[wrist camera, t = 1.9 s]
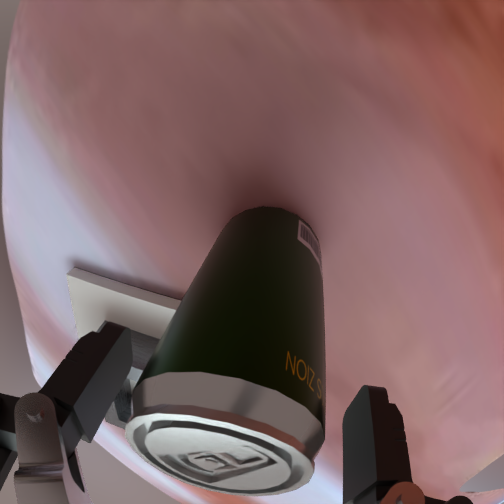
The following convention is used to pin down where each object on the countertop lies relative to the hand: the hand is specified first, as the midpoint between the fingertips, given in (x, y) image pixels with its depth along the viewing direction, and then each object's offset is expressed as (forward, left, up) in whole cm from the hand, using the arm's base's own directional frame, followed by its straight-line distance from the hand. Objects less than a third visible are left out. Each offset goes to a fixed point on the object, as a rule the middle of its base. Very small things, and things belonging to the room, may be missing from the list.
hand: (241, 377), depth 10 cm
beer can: (0, 0, -9) cm, 9 cm away
